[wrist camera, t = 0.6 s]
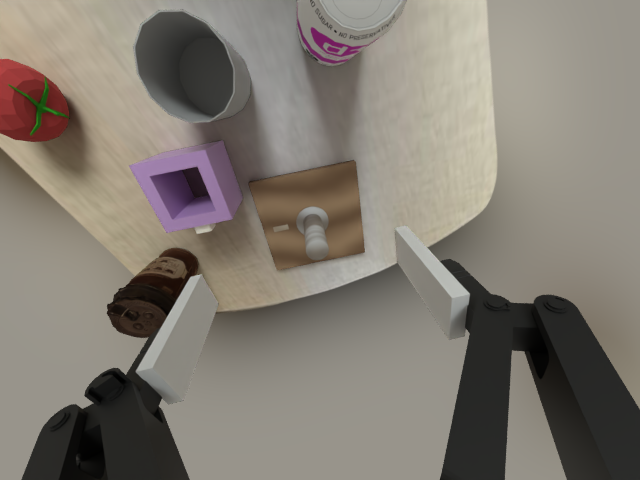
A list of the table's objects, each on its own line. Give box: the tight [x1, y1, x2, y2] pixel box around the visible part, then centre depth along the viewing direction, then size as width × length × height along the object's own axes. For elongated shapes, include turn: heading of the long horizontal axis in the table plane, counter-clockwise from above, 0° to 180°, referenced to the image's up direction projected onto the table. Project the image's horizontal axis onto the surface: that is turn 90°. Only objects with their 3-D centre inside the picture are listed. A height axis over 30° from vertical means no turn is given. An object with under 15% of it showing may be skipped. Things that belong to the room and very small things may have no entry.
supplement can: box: [296, 0, 407, 66], centre depth 22 cm, size 8×8×15 cm
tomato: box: [0, 59, 69, 142], centre depth 27 cm, size 8×8×8 cm
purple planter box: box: [129, 140, 243, 234], centre depth 33 cm, size 10×8×8 cm
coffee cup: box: [107, 248, 198, 338], centre depth 37 cm, size 9×8×13 cm
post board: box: [249, 160, 365, 270], centre depth 36 cm, size 16×16×10 cm
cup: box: [133, 9, 251, 123], centre depth 26 cm, size 8×8×10 cm
